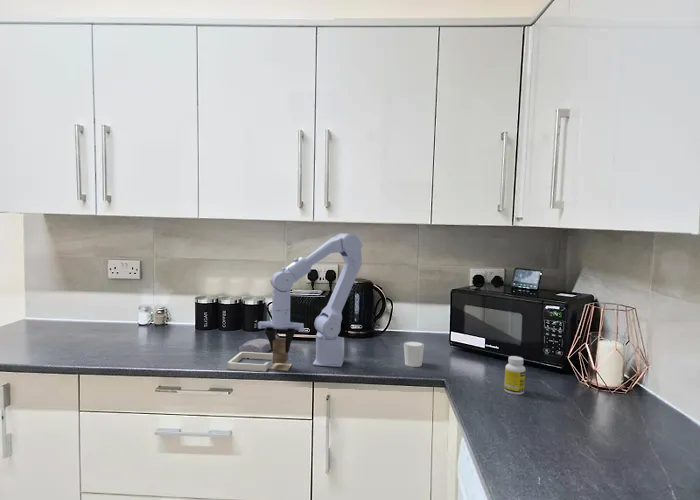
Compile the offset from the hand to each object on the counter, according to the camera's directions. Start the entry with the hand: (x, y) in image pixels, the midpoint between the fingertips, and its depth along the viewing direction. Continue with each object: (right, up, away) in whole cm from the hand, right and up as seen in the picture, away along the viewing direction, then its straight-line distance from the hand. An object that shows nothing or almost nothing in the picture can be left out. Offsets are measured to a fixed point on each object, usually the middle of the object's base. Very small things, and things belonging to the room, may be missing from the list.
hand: (280, 351), depth 145 cm
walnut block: (0, -3, 0) cm, 3 cm away
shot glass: (+44, -6, +7) cm, 45 cm away
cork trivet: (0, -5, 0) cm, 5 cm away
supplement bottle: (+69, -8, -16) cm, 72 cm away
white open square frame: (-10, -5, +3) cm, 11 cm away
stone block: (-12, -4, +18) cm, 22 cm away
